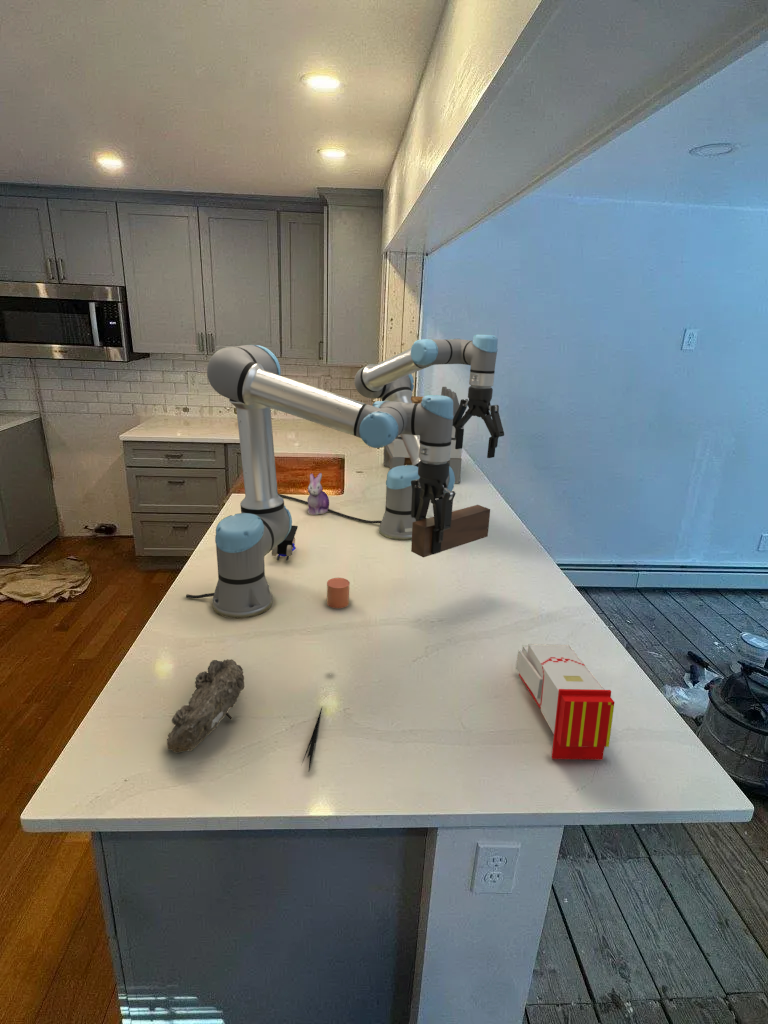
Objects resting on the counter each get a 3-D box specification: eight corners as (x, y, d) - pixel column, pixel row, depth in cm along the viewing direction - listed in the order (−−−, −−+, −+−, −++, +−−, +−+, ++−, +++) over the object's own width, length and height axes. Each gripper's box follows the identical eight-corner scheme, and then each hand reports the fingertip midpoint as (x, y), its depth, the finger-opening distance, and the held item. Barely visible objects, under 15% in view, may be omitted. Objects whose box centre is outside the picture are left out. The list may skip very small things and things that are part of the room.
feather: (331, 679, 122) (336, 673, 122) (307, 777, 96) (313, 769, 95) (324, 675, 122) (329, 669, 121) (298, 772, 95) (304, 764, 95)
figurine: (311, 517, 211) (311, 478, 206) (301, 508, 220) (301, 471, 215) (334, 513, 216) (335, 476, 211) (324, 505, 224) (324, 469, 219)
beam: (411, 551, 144) (412, 522, 142) (475, 531, 159) (477, 504, 156) (423, 557, 141) (425, 527, 138) (487, 536, 155) (490, 509, 153)
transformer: (382, 463, 289) (386, 382, 275) (445, 464, 293) (451, 384, 279) (390, 482, 257) (394, 392, 243) (460, 483, 261) (468, 394, 247)
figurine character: (292, 567, 173) (298, 543, 187) (292, 546, 170) (298, 523, 183) (270, 567, 173) (278, 542, 187) (269, 545, 170) (277, 522, 183)
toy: (564, 626, 126) (624, 698, 97) (558, 682, 129) (615, 767, 100) (510, 625, 126) (554, 696, 96) (506, 681, 128) (547, 766, 99)
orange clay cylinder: (322, 601, 152) (322, 581, 150) (340, 595, 156) (340, 575, 154) (335, 610, 148) (335, 590, 146) (353, 604, 151) (354, 583, 149)
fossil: (192, 660, 117) (244, 628, 112) (224, 691, 120) (276, 661, 115) (142, 746, 98) (202, 712, 93) (182, 779, 101) (242, 748, 96)
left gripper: (398, 455, 141) (395, 541, 149) (449, 471, 128) (442, 565, 136) (421, 451, 146) (416, 535, 154) (471, 466, 133) (463, 557, 141)
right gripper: (443, 382, 183) (438, 446, 190) (505, 392, 166) (497, 463, 173) (459, 381, 188) (453, 443, 195) (520, 391, 170) (512, 459, 178)
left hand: (428, 549), depth 145 cm, fingers closed on beam, 5 cm apart
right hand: (474, 453), depth 184 cm, fingers open, 13 cm apart
